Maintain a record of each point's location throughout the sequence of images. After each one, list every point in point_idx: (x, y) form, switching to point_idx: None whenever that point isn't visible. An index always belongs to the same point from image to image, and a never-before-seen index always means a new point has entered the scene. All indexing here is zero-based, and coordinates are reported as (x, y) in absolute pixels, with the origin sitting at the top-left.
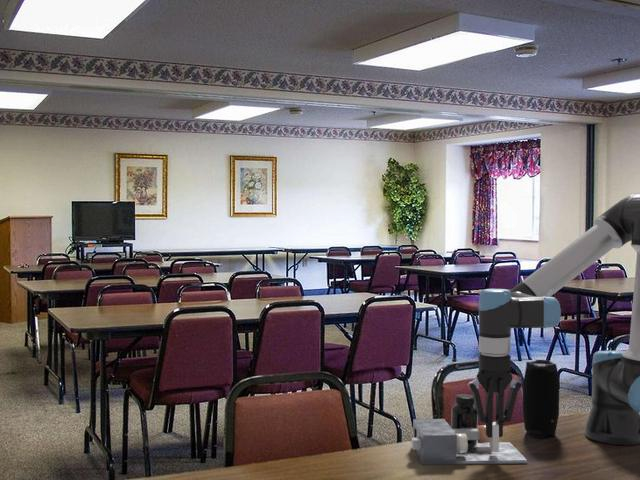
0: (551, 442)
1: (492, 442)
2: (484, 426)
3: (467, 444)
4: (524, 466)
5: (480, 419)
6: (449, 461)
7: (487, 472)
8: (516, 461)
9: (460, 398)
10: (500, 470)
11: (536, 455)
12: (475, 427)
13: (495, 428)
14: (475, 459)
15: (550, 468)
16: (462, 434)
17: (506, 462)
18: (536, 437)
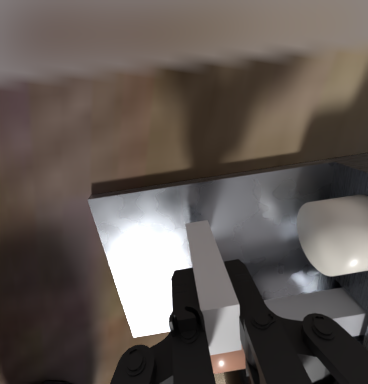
0: (22, 362)
1: (215, 243)
2: (230, 358)
3: (325, 208)
4: (101, 164)
5: (343, 329)
6: (356, 158)
7: (243, 82)
8: (126, 191)
9: None
10: (191, 111)
11: (60, 268)
12: (239, 373)
13: (218, 290)
14: (265, 184)
15: (6, 153)
16: (362, 254)
17: (161, 185)
18: (61, 382)
